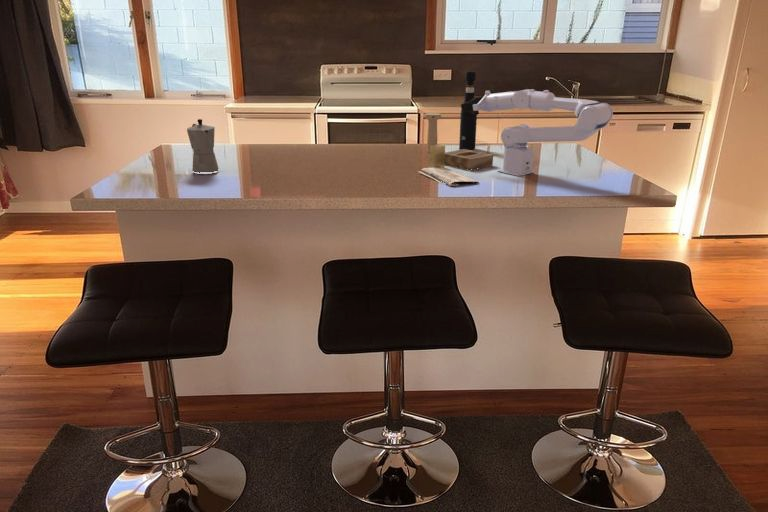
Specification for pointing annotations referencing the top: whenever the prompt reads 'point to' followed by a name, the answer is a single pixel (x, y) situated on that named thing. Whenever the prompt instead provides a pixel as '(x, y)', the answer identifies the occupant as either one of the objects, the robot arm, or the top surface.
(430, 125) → the handle
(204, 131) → the coffeepot
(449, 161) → the well block
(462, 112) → the wine bottle
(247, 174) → the top surface
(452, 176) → the newspaper
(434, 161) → the wooden block
